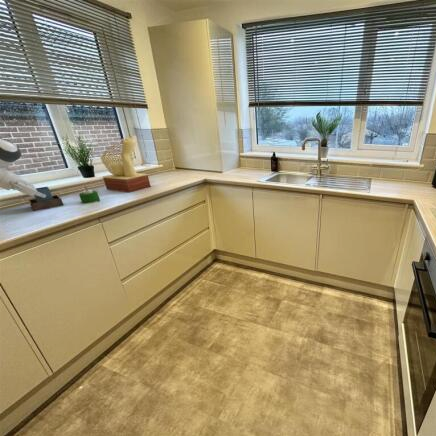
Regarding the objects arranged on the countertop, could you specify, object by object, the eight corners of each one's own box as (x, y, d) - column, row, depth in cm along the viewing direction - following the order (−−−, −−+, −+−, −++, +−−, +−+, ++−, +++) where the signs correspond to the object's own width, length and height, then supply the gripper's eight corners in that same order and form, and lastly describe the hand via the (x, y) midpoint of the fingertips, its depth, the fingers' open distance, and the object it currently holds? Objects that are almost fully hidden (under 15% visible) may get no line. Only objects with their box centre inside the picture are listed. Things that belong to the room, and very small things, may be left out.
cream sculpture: (152, 186, 171) (139, 135, 158) (128, 193, 156) (112, 136, 143) (129, 184, 180) (115, 135, 167) (104, 190, 165) (86, 136, 152)
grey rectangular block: (40, 208, 129) (32, 190, 125) (38, 206, 132) (31, 188, 129) (56, 205, 133) (48, 188, 129) (54, 203, 137) (47, 186, 133)
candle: (82, 201, 141) (76, 185, 137) (99, 198, 145) (94, 182, 142) (81, 205, 135) (75, 187, 131) (100, 202, 139) (94, 185, 135)
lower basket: (33, 212, 125) (29, 204, 123) (31, 207, 132) (27, 199, 131) (64, 206, 134) (61, 198, 132) (60, 202, 141) (57, 194, 139)
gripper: (15, 178, 115) (51, 193, 125) (13, 173, 127) (46, 187, 138) (6, 189, 113) (43, 203, 124) (5, 183, 126) (38, 197, 136)
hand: (44, 195), depth 131 cm, fingers closed on grey rectangular block, 6 cm apart
